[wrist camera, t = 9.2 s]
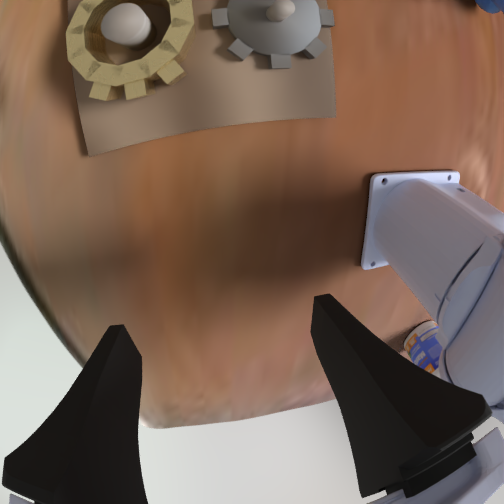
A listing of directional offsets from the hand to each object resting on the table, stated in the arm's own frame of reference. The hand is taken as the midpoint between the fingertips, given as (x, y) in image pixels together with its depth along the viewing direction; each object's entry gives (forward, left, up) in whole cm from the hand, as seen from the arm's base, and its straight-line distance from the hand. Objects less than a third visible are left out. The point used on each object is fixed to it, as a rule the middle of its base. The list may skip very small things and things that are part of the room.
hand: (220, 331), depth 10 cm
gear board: (-1, -12, -9) cm, 15 cm away
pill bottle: (-23, +20, -9) cm, 32 cm away
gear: (+2, -12, -8) cm, 14 cm away
